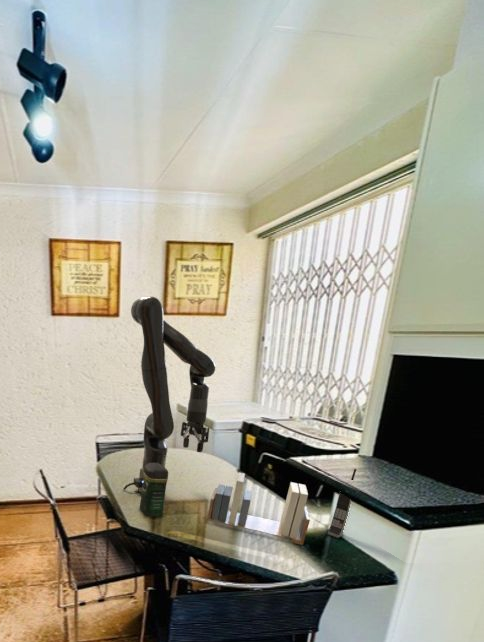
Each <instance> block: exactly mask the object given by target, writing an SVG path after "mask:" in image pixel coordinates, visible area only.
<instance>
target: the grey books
mask: <svg viewBox="0 0 484 642" xmlns="http://www.w3.org/2000/svg"><path fill="white" fill-rule="evenodd" d="M216 488H217V491H216V495H215V500H214V506H213V511H212V516H211V519H214V520H218V518H219V521H223V522H225V521H226V517H227V513H228V511H229V507H230V502H231V497H232V492H233V488H234V487H233V486H230V485H226V484H225V485H224V484H220V483H219V484H218V486H217V487H216ZM252 493H253V492H252V490H250V489H244V491H243V496H242V502H241V506H240V511H239V513H240V516H239V522H238V525H240V526H245V524H246V520H247V515H249V510H250V506H251V501H252ZM219 514H220V515H219Z"/></svg>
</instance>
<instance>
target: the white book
mask: <svg viewBox="0 0 484 642" xmlns="http://www.w3.org/2000/svg"><path fill="white" fill-rule="evenodd" d="M245 476H246V473H244V472H238V474H237V478H236V483H235V488H234V493H233V498H232V503H231V508H230V511H231V512H230V517H229V522H228V523H232V524H235V521H236V516H237V513H238V510H239V506H240V501H241V496H242V492H243V486H244V482H245Z"/></svg>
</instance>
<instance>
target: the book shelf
mask: <svg viewBox="0 0 484 642" xmlns="http://www.w3.org/2000/svg"><path fill="white" fill-rule="evenodd" d="M217 488H218V487H214V490H213V492H212V495H211V498H210V502H209V508H208V513H207V519H206V520H208V521H213V522H216V523H217V522H218V523H221V524H226V525H230V526H234V527H238V528H244V529H248V530H251V531H257V532H262V533H265V534H270V535H274V536H278V537H282V538H287V539H292V544H296V545H300V546H304V543H305V540H306V535H307V532H308V528H309V525H310V522H311V518H310V514H309V510H308V507H307V505H305V508H304V512H303V516H302V519H301V523H300V527H299V531H298V534H297V538H293V537H289V535H288V536H284V535H281V524H280V522H281V521H278V520H273V519H269V518H264V517H259V516H255V515H250V514H248V515H247V520H246V524H245V526H240V525H238V522H239V516H240V512H237V516H236V521H235V524H232V523H228V522H229V517H230V512H231V510H228V513H227V517H226V521H225V522H223V521H219V518H218V520H214V519H211V516H212V511H213V506H214V500H215V495H216V491H217ZM219 515H220V514H219Z"/></svg>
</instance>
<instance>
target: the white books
mask: <svg viewBox="0 0 484 642" xmlns="http://www.w3.org/2000/svg"><path fill="white" fill-rule="evenodd" d="M308 496H309V493H308V489H307V486H306V484H302V483H297V482H292V481H290V483H289V487H288V491H287V495H286V499H285V503H284V506H283V510H282V515H281V519H280V521H279V522H280V524H281V535H284V536H288V535H289V537H293V538H297V534H298V531H299V527H300V523H301V519H302V516H303V512H304V508H305V506H307V505H306V504H307V500H308Z"/></svg>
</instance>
